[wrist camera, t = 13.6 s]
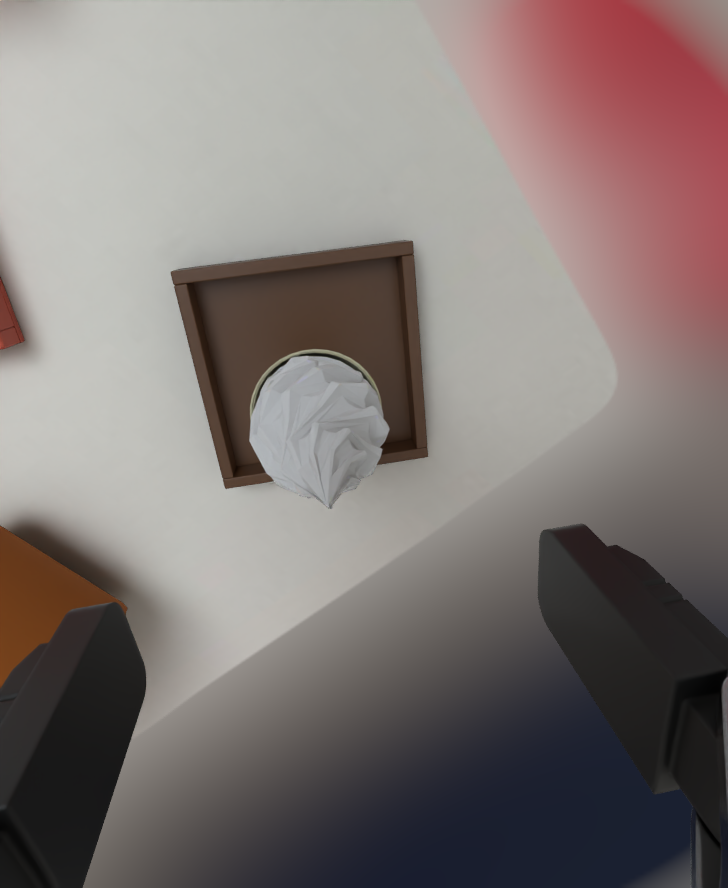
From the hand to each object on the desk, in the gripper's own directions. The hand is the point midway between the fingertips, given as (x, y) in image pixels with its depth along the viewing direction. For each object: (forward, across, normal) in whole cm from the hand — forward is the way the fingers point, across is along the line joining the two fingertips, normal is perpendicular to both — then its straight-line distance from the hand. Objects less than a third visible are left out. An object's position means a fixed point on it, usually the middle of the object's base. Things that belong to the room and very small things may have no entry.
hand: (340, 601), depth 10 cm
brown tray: (+19, 0, 0) cm, 19 cm away
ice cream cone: (+19, 0, 0) cm, 19 cm away
